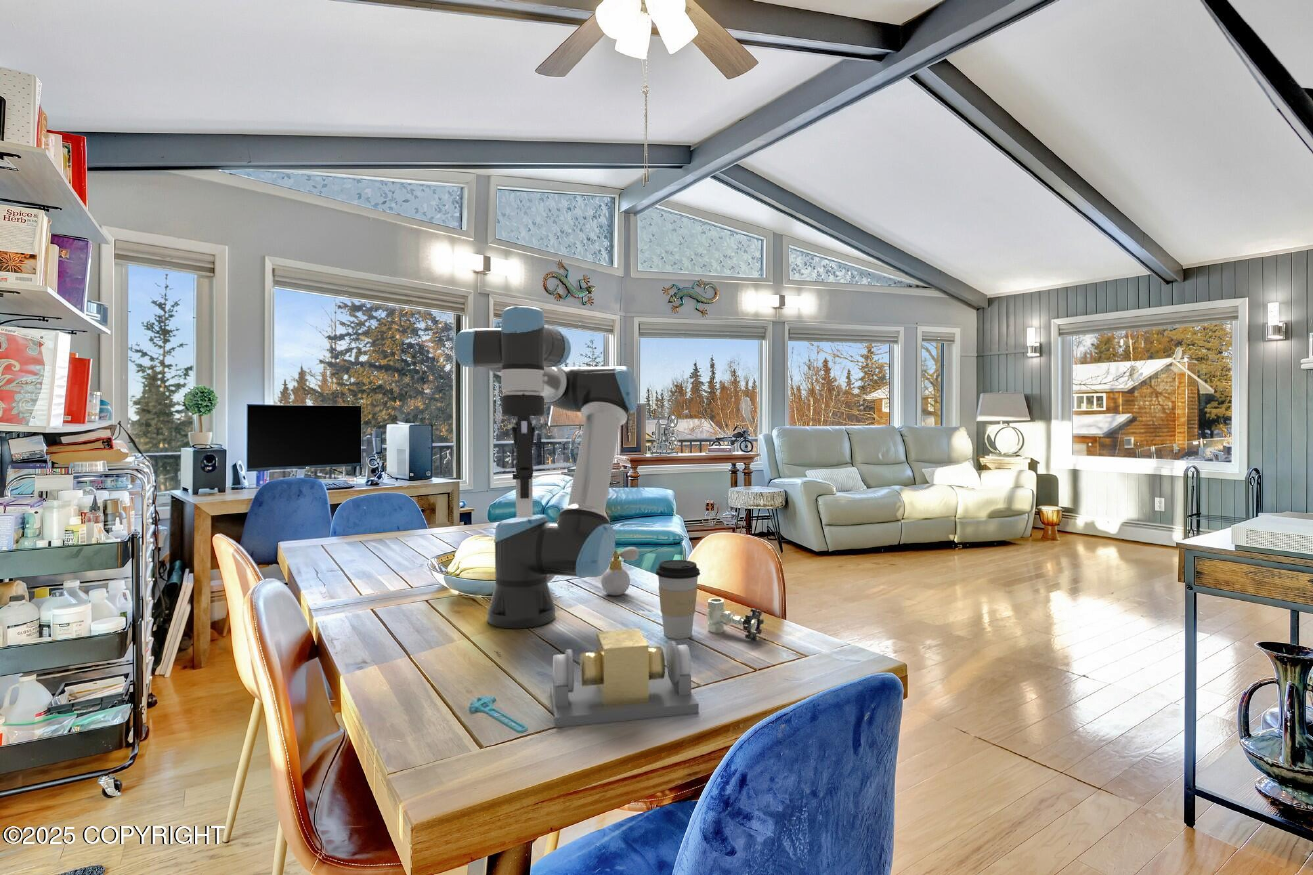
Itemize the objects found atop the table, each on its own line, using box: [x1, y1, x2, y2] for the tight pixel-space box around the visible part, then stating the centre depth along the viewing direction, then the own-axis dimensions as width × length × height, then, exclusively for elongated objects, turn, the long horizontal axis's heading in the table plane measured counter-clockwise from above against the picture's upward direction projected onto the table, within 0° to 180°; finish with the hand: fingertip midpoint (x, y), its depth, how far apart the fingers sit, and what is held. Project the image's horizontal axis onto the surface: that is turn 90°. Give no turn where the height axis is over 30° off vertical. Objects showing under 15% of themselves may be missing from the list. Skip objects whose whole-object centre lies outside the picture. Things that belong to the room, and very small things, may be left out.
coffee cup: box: [655, 559, 701, 640], centre depth 136 cm, size 9×9×15 cm
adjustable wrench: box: [468, 695, 528, 733], centre depth 99 cm, size 14×1×5 cm
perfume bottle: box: [600, 546, 640, 596], centre depth 168 cm, size 8×10×12 cm
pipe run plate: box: [550, 640, 700, 729], centre depth 103 cm, size 12×22×9 cm, turn 103°
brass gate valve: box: [579, 628, 666, 707], centre depth 103 cm, size 8×13×9 cm, turn 103°
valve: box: [706, 597, 765, 641], centre depth 137 cm, size 7×7×12 cm
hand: (523, 511), depth 117 cm, fingers open, 13 cm apart
